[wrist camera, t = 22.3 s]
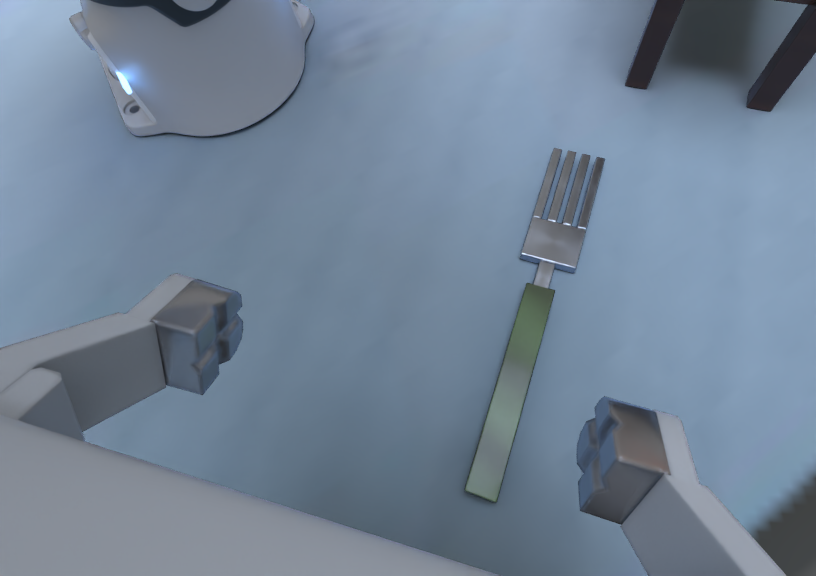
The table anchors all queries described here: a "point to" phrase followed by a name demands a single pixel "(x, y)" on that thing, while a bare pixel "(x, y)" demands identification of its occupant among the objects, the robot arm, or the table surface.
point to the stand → (786, 64)
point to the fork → (532, 317)
